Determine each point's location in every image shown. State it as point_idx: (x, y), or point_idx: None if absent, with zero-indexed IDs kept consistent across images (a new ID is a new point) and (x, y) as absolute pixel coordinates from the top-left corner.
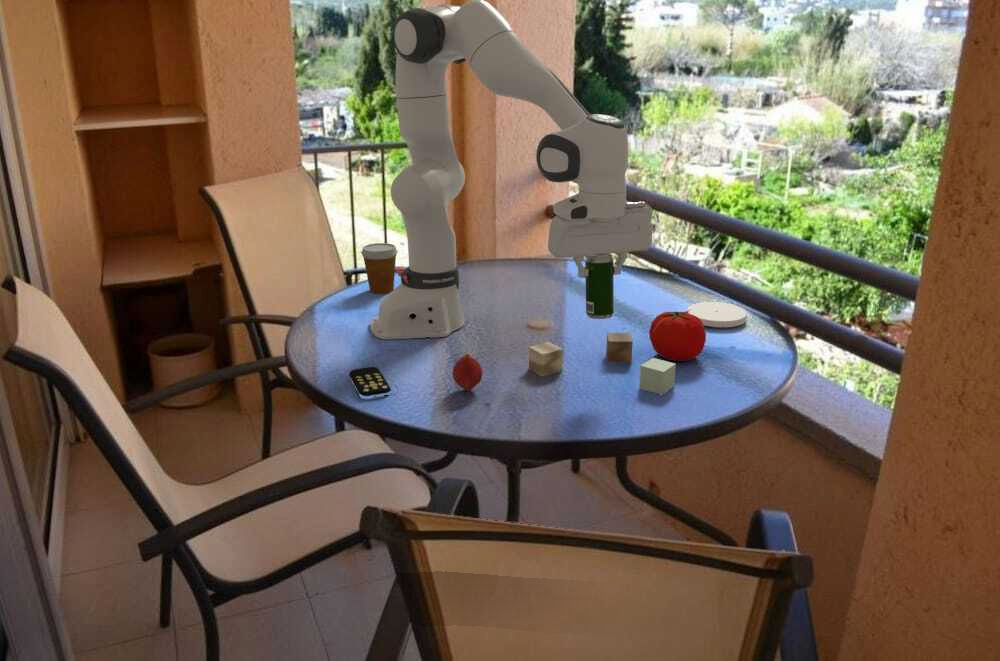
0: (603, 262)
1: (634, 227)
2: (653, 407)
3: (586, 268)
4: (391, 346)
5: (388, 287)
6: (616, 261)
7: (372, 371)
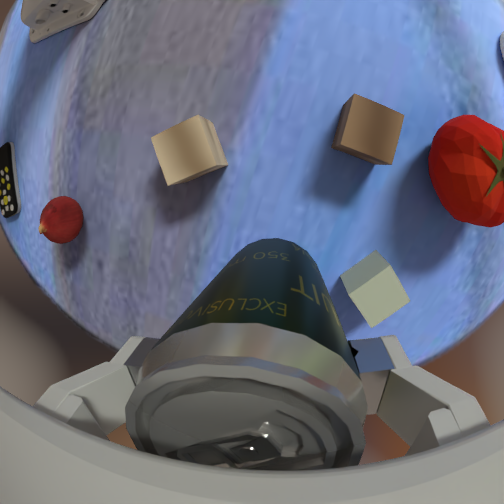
0: None
1: None
2: None
3: None
4: (35, 60)
5: None
6: (403, 389)
7: (4, 159)
